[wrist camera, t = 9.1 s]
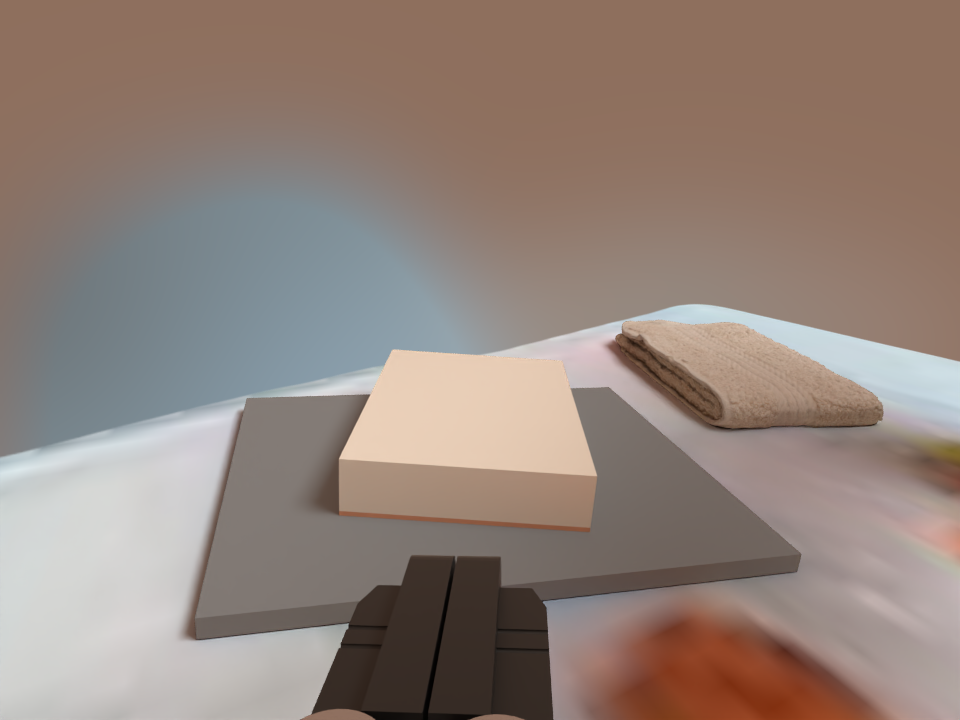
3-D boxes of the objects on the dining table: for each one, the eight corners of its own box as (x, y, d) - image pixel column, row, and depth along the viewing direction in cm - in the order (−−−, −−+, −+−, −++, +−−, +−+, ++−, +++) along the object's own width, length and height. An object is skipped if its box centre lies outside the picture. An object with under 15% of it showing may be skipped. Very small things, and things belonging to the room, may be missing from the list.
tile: (589, 532, 26) (557, 400, 39) (597, 476, 25) (562, 361, 39) (339, 515, 26) (391, 389, 39) (338, 458, 25) (392, 349, 39)
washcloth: (730, 347, 58) (737, 313, 57) (889, 435, 41) (902, 389, 40) (603, 347, 55) (608, 311, 54) (717, 440, 38) (727, 391, 37)
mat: (607, 398, 42) (608, 387, 42) (797, 571, 26) (801, 554, 26) (247, 411, 37) (246, 398, 37) (196, 639, 20) (194, 618, 20)
